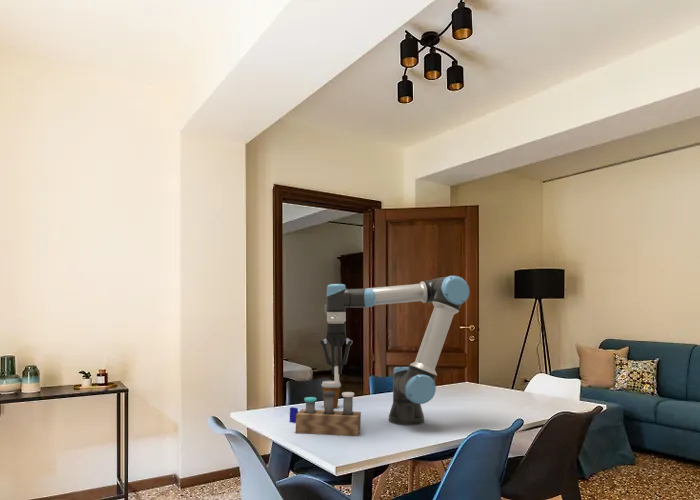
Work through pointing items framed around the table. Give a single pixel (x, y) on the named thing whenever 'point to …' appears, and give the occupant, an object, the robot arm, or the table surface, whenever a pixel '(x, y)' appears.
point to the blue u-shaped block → (293, 414)
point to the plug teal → (310, 404)
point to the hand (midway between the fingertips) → (336, 382)
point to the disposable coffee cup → (331, 387)
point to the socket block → (328, 423)
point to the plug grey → (347, 402)
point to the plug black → (329, 402)
